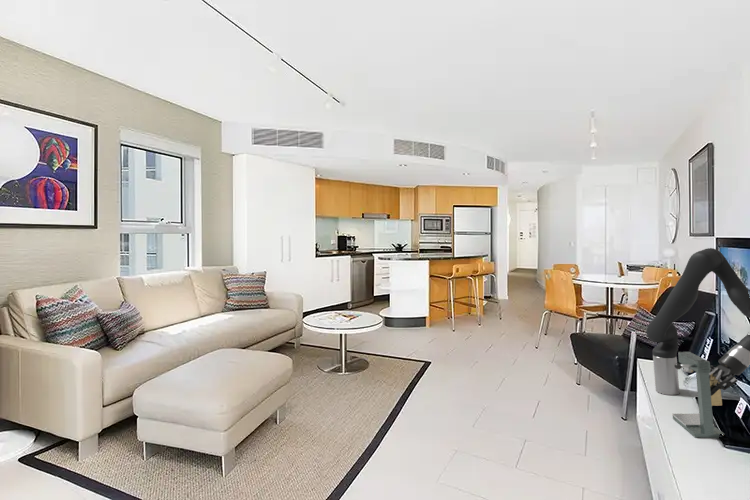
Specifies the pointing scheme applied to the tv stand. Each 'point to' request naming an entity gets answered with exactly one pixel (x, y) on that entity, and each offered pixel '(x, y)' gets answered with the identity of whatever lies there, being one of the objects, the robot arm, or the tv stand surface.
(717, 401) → the block
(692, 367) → the arbor press
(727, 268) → the robot arm
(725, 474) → the tv stand surface
